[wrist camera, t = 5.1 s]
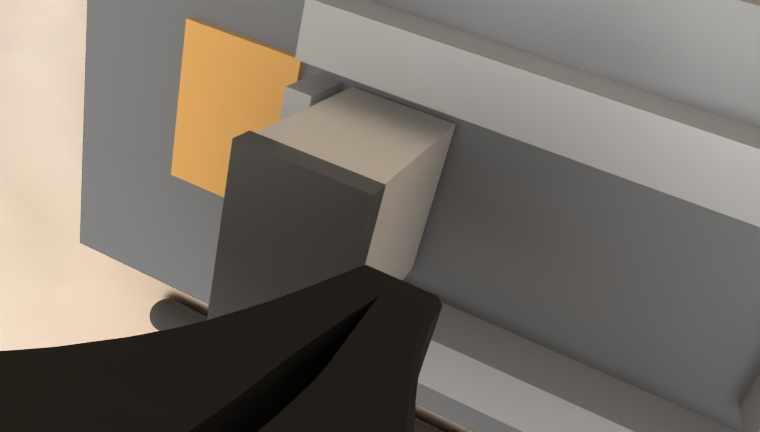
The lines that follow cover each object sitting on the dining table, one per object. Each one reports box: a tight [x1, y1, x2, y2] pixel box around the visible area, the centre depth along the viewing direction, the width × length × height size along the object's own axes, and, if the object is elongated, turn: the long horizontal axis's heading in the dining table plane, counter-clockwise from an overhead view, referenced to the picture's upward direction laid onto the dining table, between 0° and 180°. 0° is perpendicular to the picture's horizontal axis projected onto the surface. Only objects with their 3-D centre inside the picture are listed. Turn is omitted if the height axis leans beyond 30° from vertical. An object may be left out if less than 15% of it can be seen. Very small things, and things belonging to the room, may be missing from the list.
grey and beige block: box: [207, 87, 456, 320], centre depth 13 cm, size 2×4×4 cm
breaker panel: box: [80, 0, 760, 432], centre depth 14 cm, size 24×11×3 cm, turn 76°
